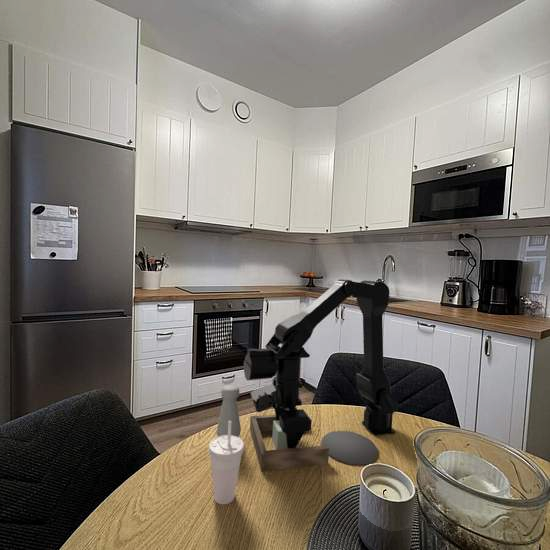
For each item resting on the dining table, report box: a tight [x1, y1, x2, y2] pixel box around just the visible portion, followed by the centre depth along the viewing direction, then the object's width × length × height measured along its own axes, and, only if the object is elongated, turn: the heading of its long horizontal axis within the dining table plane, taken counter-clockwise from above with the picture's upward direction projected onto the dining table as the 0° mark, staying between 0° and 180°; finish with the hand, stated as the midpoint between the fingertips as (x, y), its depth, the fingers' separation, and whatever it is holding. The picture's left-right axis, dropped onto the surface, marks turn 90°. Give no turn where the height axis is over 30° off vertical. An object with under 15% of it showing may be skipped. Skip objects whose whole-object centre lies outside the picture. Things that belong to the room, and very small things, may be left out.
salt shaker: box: [215, 384, 242, 438], centre depth 74 cm, size 6×6×13 cm
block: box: [271, 420, 299, 450], centre depth 73 cm, size 5×5×5 cm
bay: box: [249, 414, 330, 472], centre depth 73 cm, size 15×16×4 cm
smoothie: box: [207, 421, 245, 505], centre depth 56 cm, size 6×6×14 cm
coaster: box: [320, 430, 379, 466], centre depth 73 cm, size 13×13×1 cm
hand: (285, 441), depth 73 cm, fingers open, 9 cm apart
